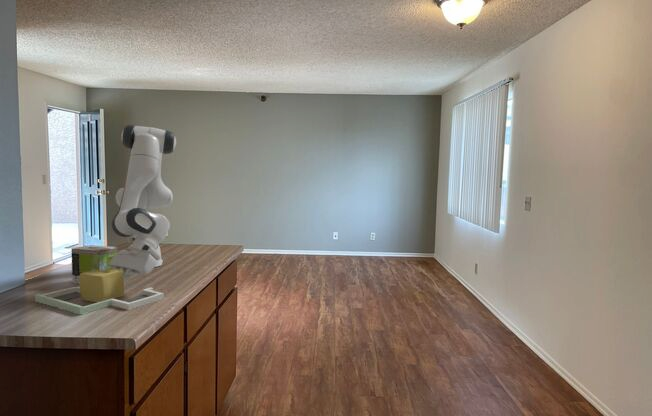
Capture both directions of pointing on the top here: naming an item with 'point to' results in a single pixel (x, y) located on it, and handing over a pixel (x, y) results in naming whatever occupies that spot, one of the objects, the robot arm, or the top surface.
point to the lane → (70, 293)
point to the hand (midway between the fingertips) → (119, 280)
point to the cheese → (101, 285)
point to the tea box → (91, 259)
